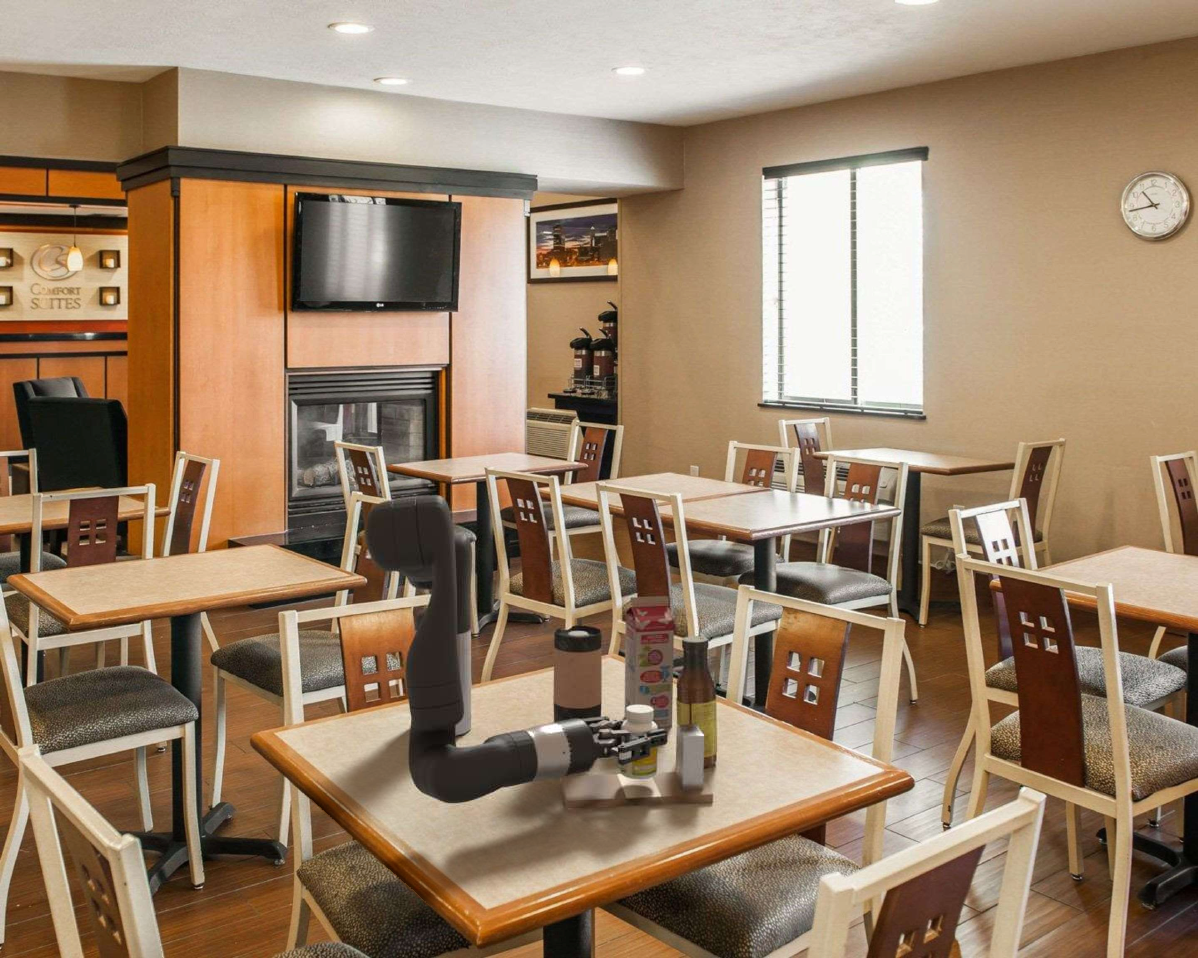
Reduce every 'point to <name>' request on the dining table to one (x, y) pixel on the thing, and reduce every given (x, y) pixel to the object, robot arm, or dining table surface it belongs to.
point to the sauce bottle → (698, 695)
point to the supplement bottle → (636, 723)
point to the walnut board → (628, 791)
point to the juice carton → (650, 657)
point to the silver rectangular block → (689, 756)
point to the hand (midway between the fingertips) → (653, 730)
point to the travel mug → (577, 673)
